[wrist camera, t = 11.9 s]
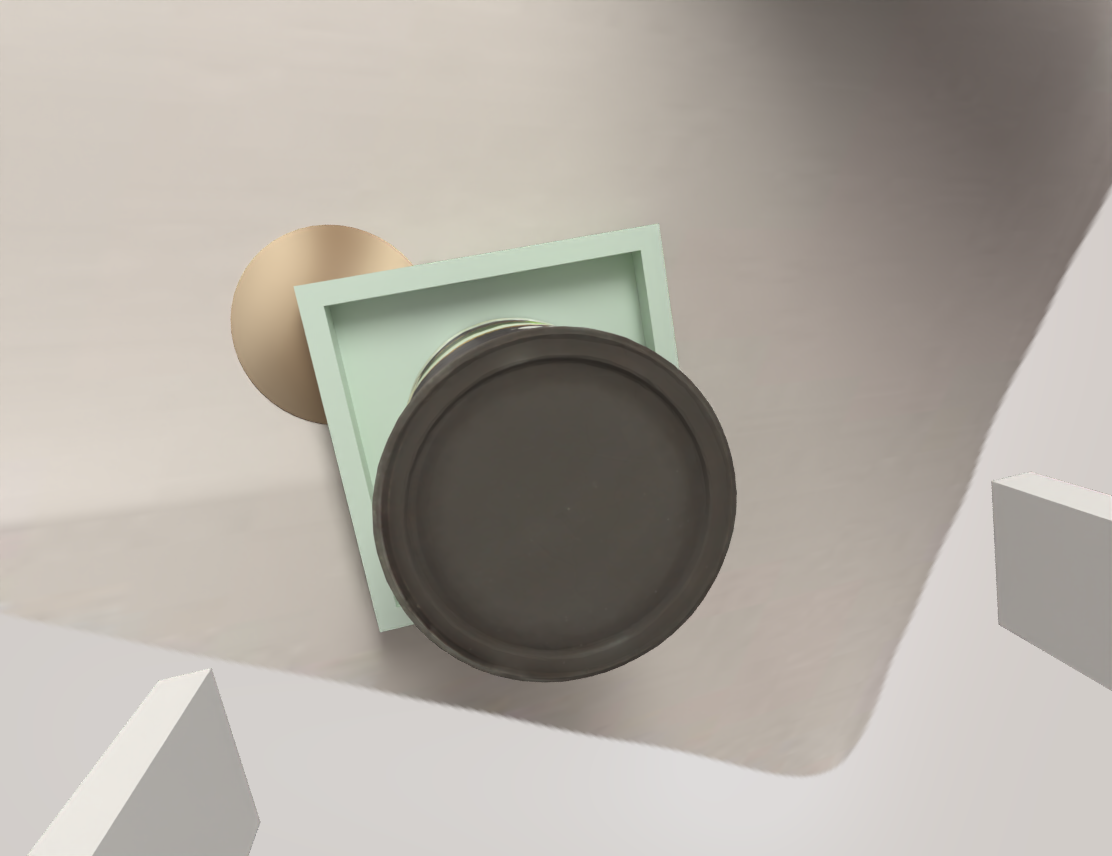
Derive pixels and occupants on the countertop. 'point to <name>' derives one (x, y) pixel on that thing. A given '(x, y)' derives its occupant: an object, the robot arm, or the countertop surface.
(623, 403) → the coffee can
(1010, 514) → the robot arm
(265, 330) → the copper metal coaster
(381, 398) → the tray
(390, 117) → the countertop surface
